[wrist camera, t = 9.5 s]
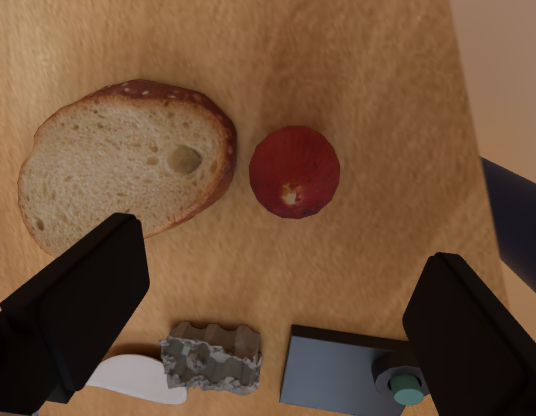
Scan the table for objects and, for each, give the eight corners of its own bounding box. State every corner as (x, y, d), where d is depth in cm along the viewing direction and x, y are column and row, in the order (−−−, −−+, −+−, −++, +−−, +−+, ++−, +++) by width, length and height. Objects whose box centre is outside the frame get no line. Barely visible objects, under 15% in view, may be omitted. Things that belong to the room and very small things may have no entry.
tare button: (421, 375, 27) (427, 391, 26) (412, 390, 28) (418, 407, 27) (393, 370, 27) (399, 387, 26) (386, 386, 28) (390, 403, 27)
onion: (343, 178, 22) (363, 231, 15) (274, 201, 23) (263, 260, 16) (319, 105, 20) (329, 125, 12) (245, 135, 21) (217, 170, 14)
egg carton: (263, 324, 30) (258, 360, 26) (263, 368, 33) (258, 405, 30) (168, 315, 31) (150, 348, 27) (176, 359, 34) (162, 394, 31)
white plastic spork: (-52, 318, 36) (-85, 342, 33) (190, 349, 33) (179, 377, 30) (-22, 363, 40) (-49, 388, 37) (196, 393, 37) (187, 423, 34)
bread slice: (39, 240, 28) (4, 263, 25) (5, 36, 20) (-55, 29, 16) (212, 286, 28) (200, 315, 25) (250, 105, 20) (240, 112, 17)
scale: (430, 343, 28) (443, 371, 26) (395, 409, 34) (403, 438, 31) (292, 322, 29) (291, 348, 27) (280, 391, 35) (278, 417, 32)
